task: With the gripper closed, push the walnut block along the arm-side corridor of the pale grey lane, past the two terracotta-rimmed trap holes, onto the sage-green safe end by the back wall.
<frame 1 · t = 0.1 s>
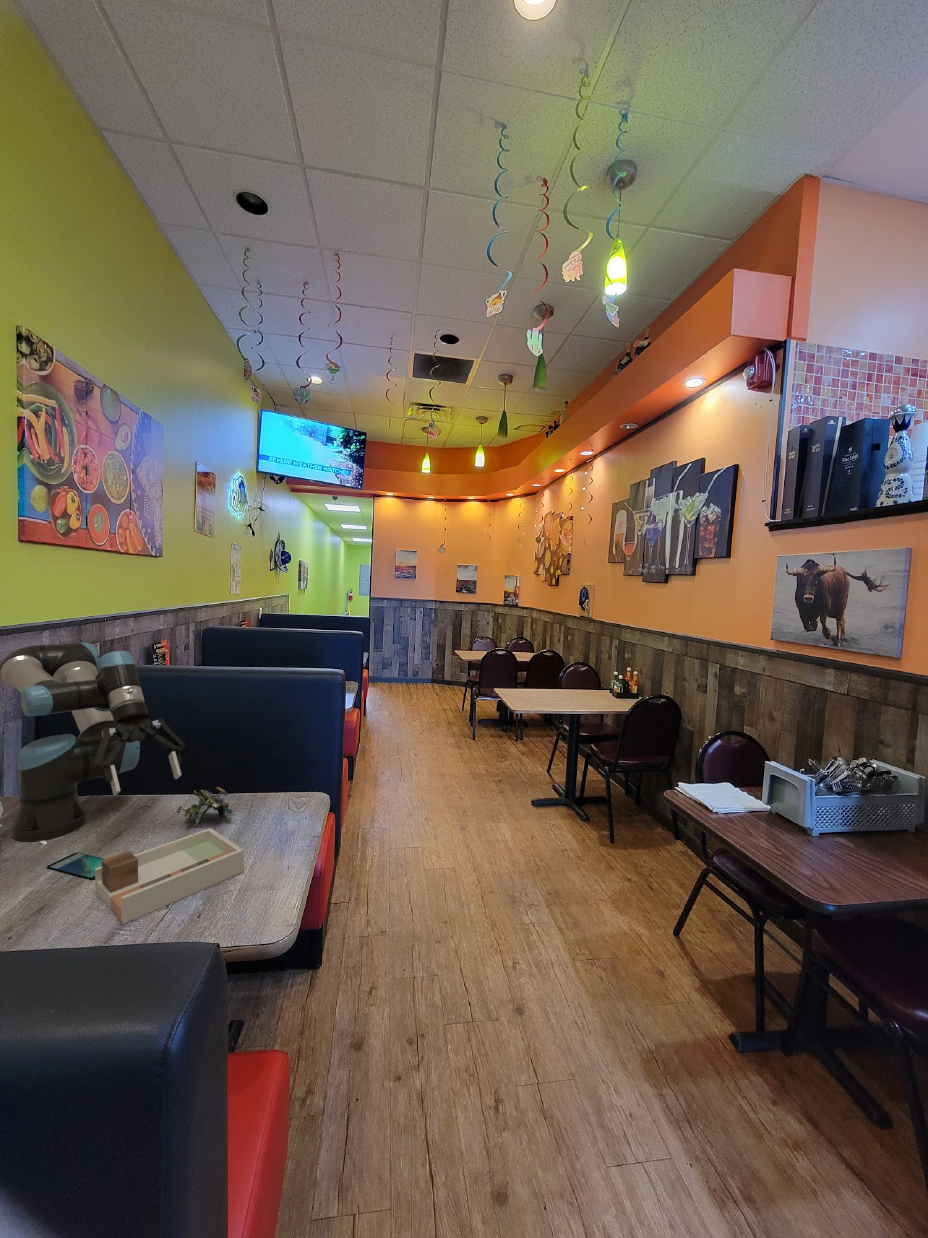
hand: (148, 785, 126), 15 cm above the table, tool tilted 35°, fingers open, 13 cm apart
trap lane: (172, 881, 113), on the table
smartphone: (84, 868, 118), on the table
walnut block: (120, 882, 107), point 2 cm above the table, touching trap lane
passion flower: (206, 823, 140), on the table
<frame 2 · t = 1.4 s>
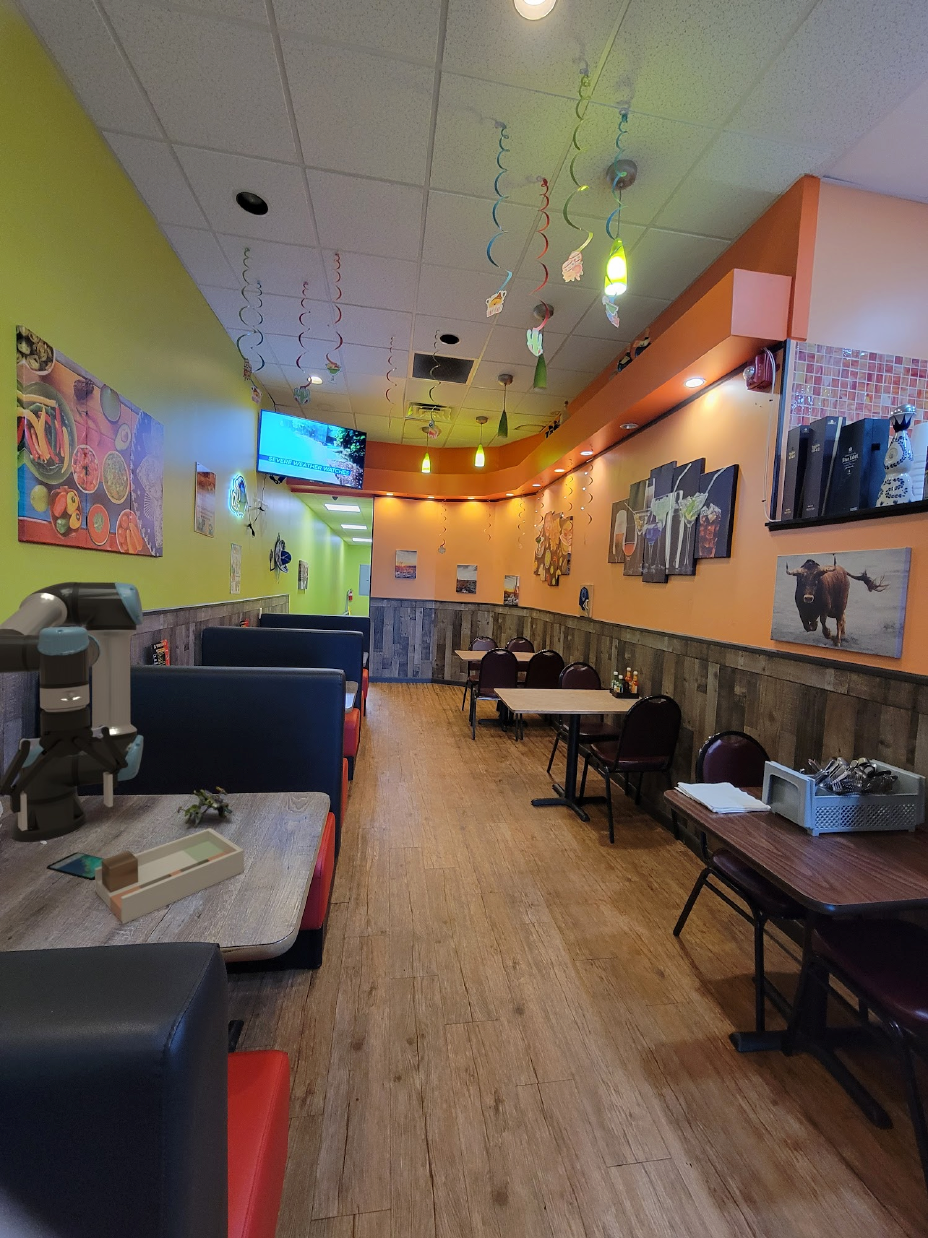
hand: (67, 816, 100), 20 cm above the table, tool pointing down, fingers open, 13 cm apart
nothing on the table moved.
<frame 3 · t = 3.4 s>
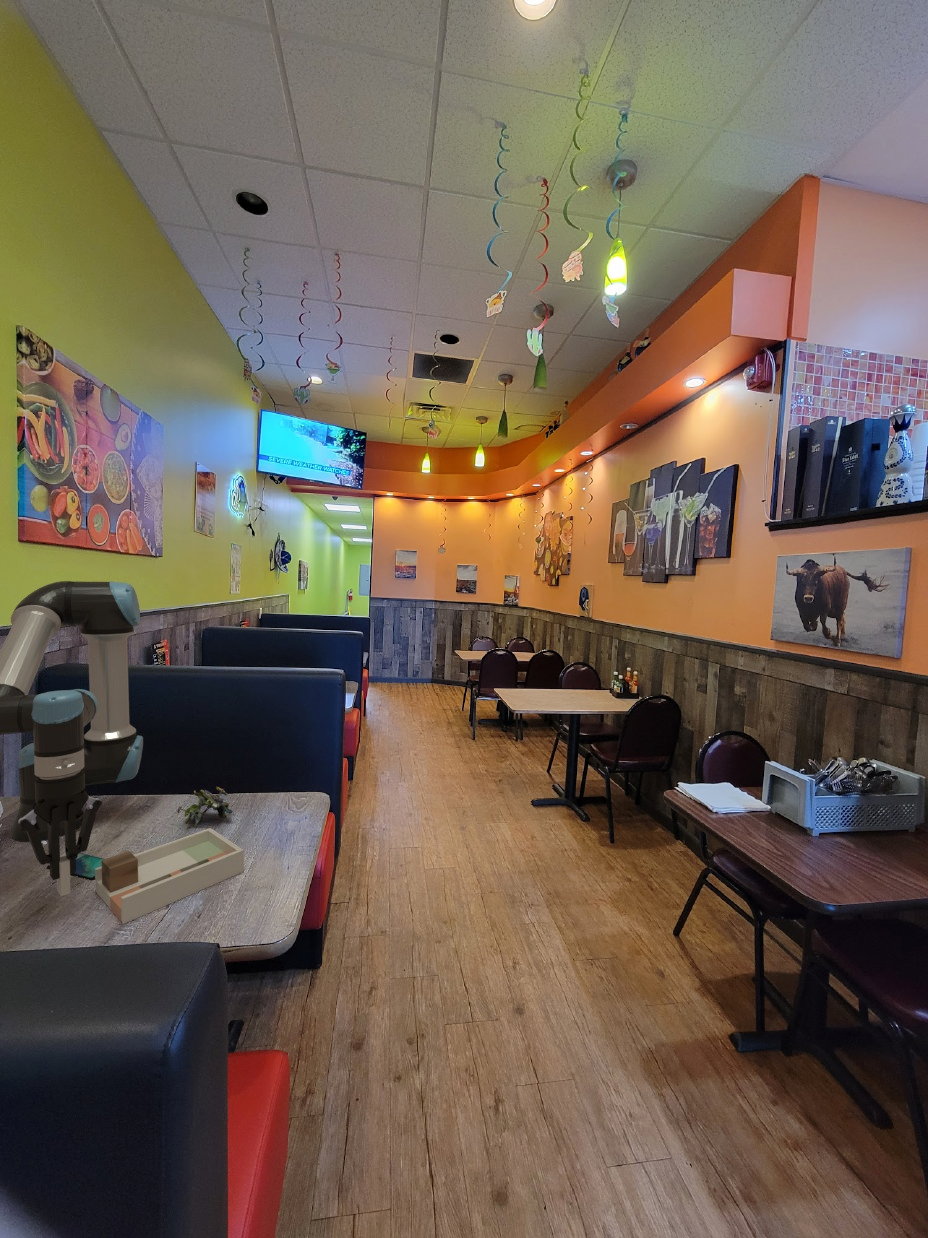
hand: (63, 891, 100), 5 cm above the table, tool pointing down, fingers closed
nothing on the table moved.
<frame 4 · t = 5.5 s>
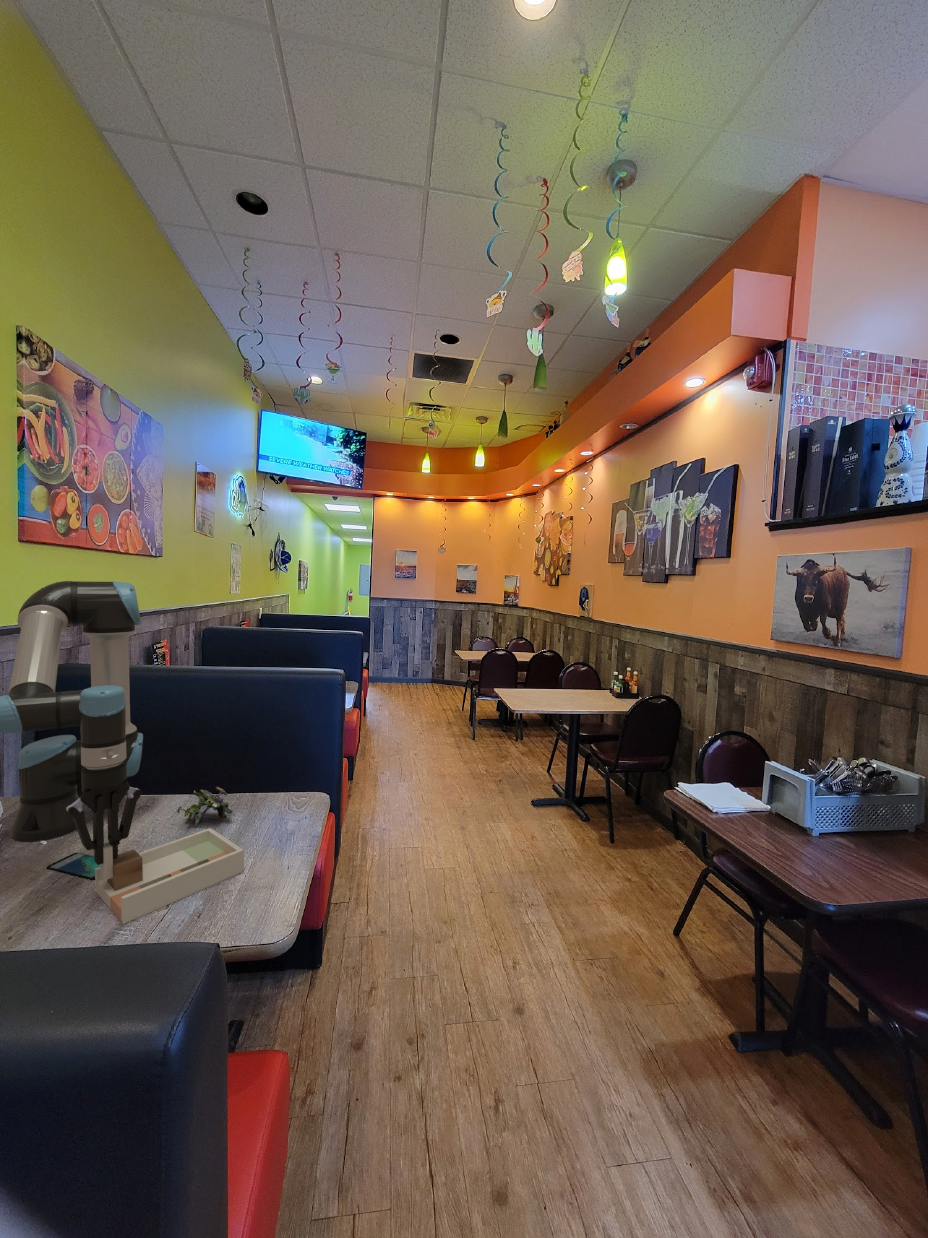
hand: (106, 876, 105), 5 cm above the table, tool pointing down, fingers closed
walnut block: (124, 881, 108), point 3 cm above the table, touching gripper
everything else where it was.
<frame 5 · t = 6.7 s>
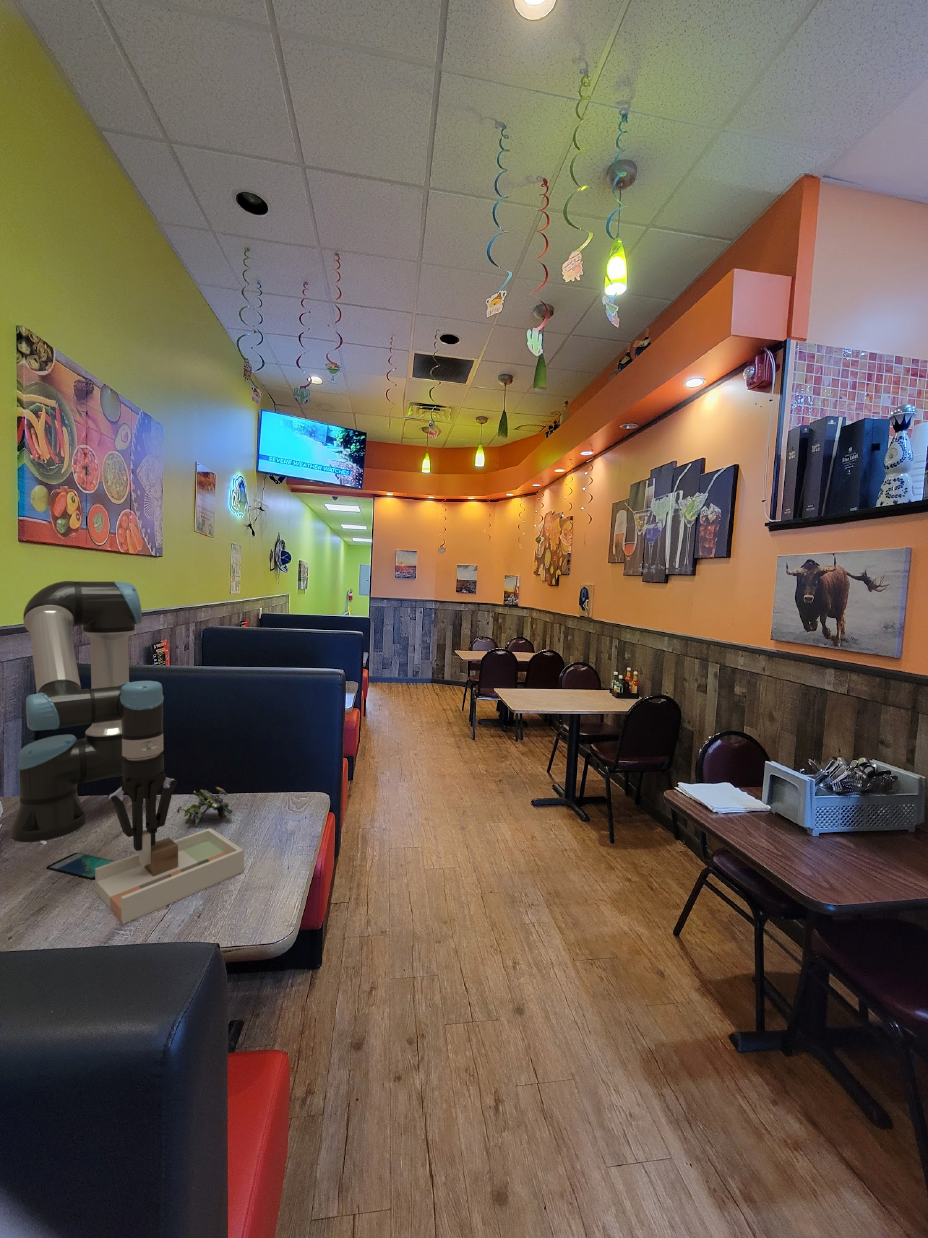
hand: (144, 862, 111), 5 cm above the table, tool pointing down, fingers closed
walnut block: (161, 867, 114), point 3 cm above the table, touching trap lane
everything else where it was.
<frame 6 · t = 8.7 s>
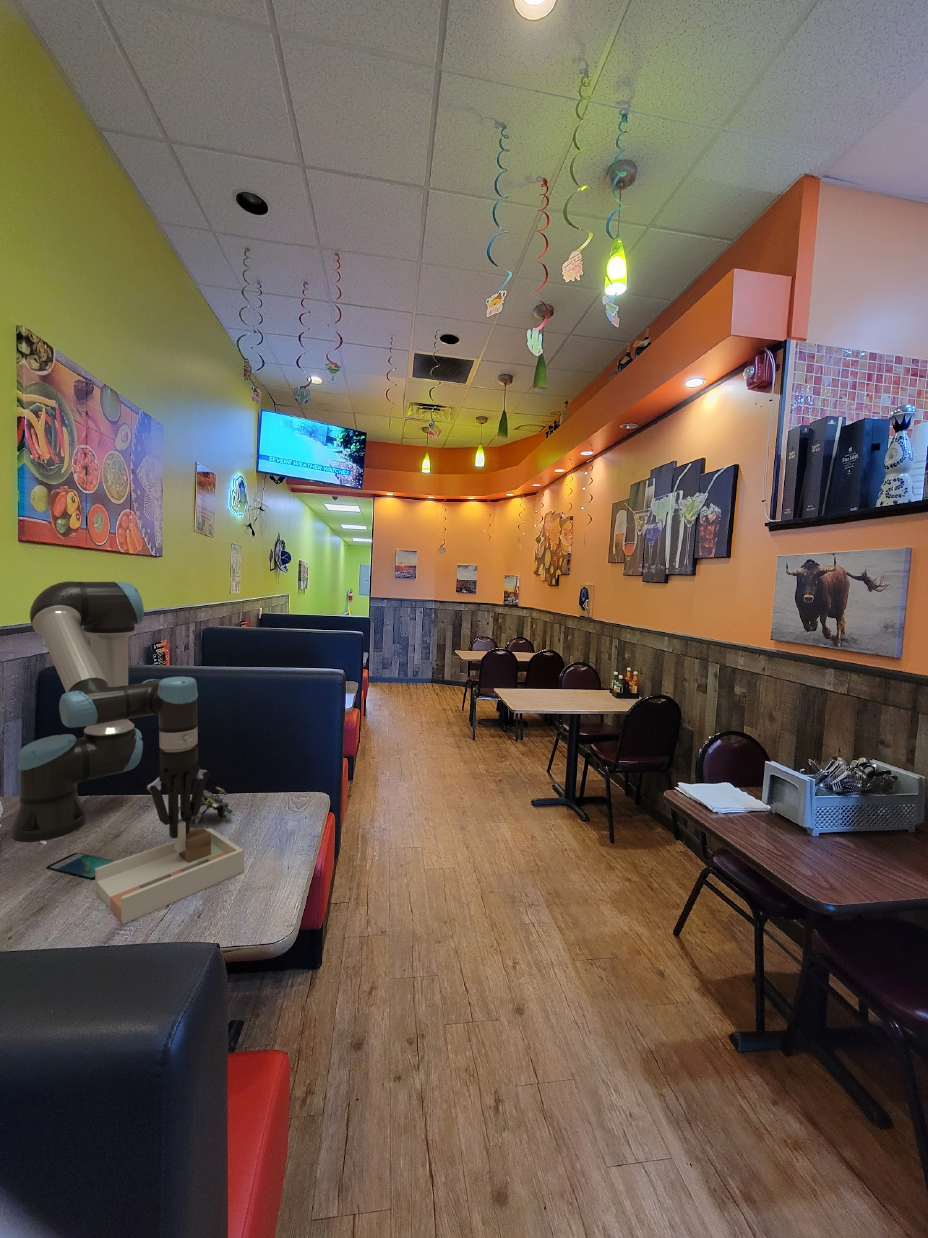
hand: (179, 849, 116), 5 cm above the table, tool pointing down, fingers closed
walnut block: (195, 855, 119), point 3 cm above the table, touching gripper
everything else where it was.
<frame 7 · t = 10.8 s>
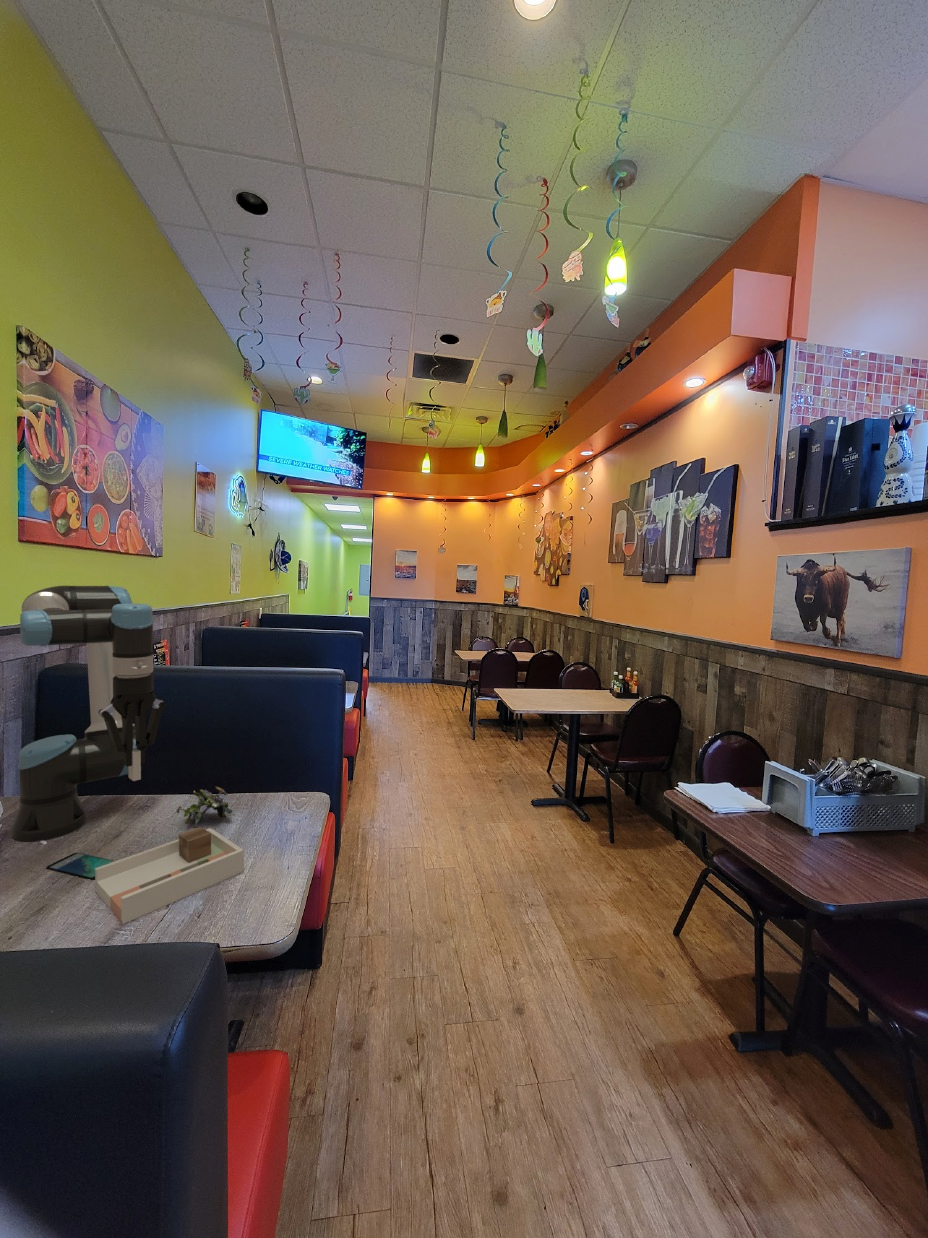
hand: (134, 778, 115), 21 cm above the table, tool pointing down, fingers closed
walnut block: (195, 855, 119), point 2 cm above the table, touching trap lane
everything else where it was.
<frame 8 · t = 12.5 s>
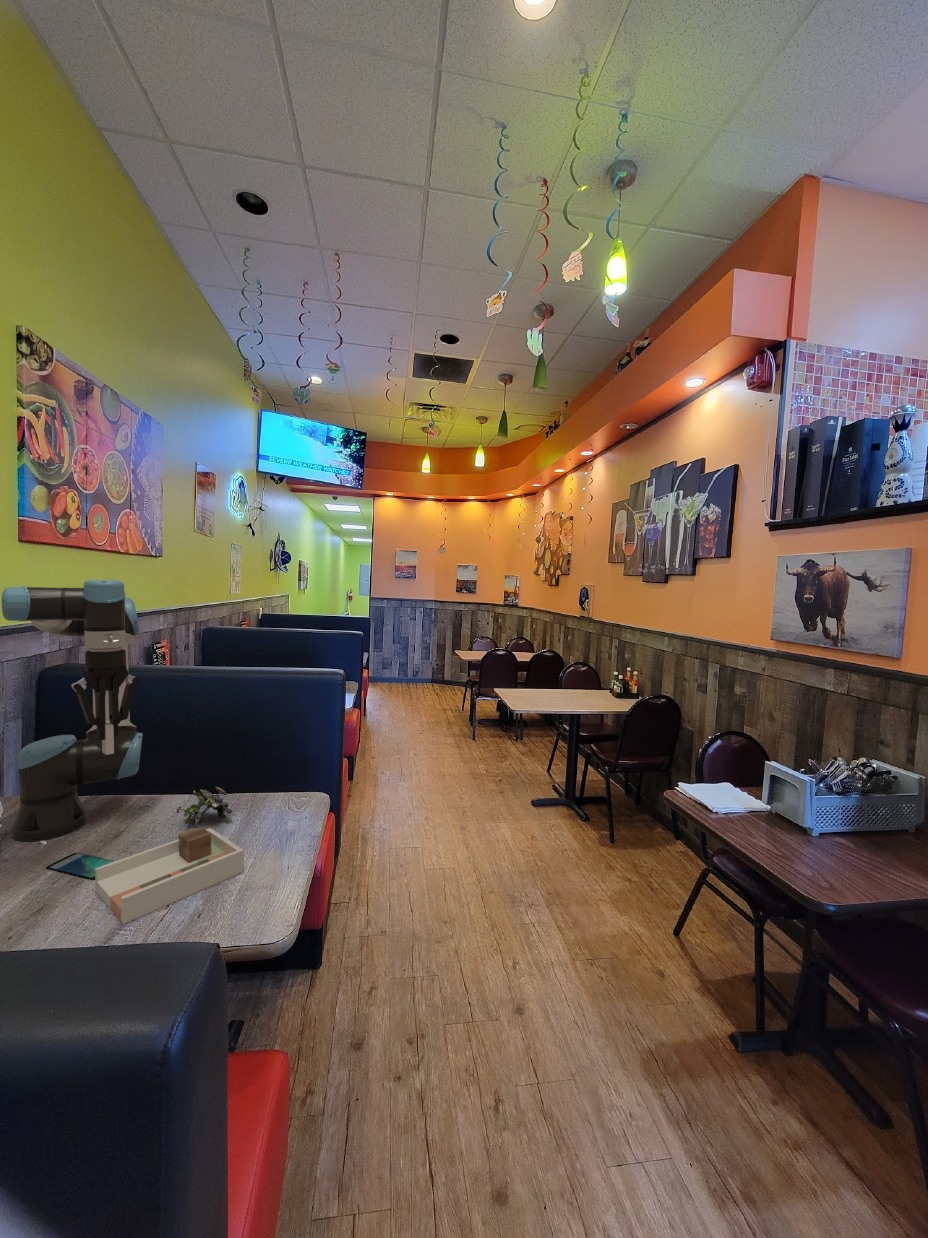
hand: (108, 752, 117), 26 cm above the table, tool pointing down, fingers closed
nothing on the table moved.
at the end: walnut block inside the target area on the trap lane (1.8 cm from its centre), point 2.5 cm above the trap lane's base; walnut block tilted 0° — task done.
